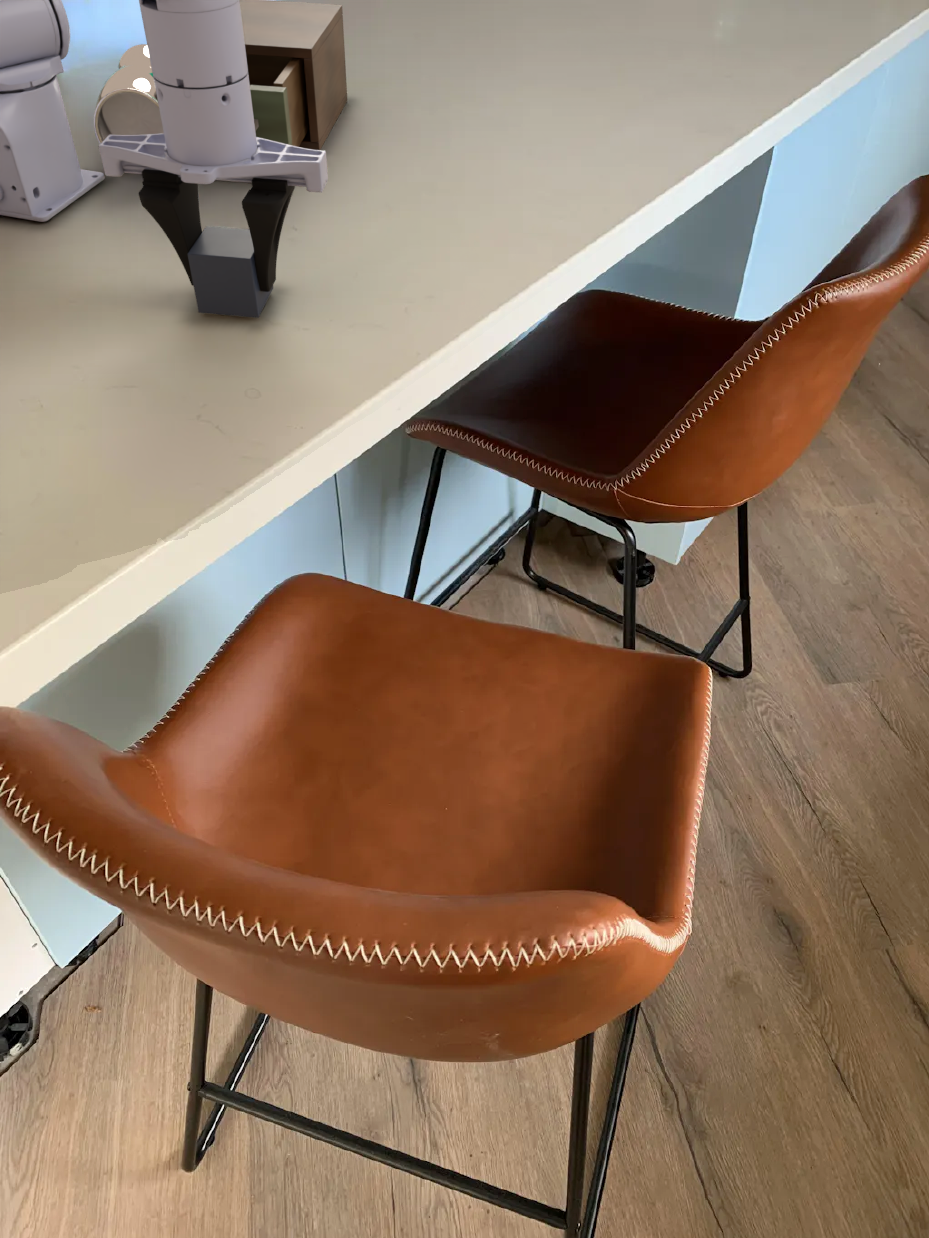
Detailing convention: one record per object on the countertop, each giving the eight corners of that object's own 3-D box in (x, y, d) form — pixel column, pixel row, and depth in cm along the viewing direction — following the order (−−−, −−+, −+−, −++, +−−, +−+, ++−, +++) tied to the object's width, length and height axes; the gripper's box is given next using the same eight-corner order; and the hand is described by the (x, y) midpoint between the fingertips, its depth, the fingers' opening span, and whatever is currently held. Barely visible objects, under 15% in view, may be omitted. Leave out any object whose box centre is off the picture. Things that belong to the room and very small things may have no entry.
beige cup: (180, 37, 90) (166, 84, 80) (194, 117, 95) (183, 171, 85) (104, 39, 90) (81, 87, 79) (122, 119, 94) (102, 174, 84)
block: (258, 318, 68) (250, 259, 64) (198, 313, 68) (186, 253, 65) (273, 288, 71) (266, 230, 67) (215, 283, 71) (205, 225, 68)
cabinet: (319, 151, 89) (311, 48, 83) (198, 142, 90) (181, 40, 84) (347, 101, 98) (342, 4, 92) (237, 93, 99) (224, -3, 93)
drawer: (280, 196, 80) (271, 110, 75) (159, 187, 81) (142, 100, 76) (322, 124, 91) (316, 44, 86) (216, 116, 92) (204, 37, 87)
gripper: (59, 87, 56) (114, 301, 66) (302, 104, 55) (321, 318, 65) (103, 49, 61) (148, 254, 71) (327, 65, 60) (341, 270, 70)
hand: (233, 282), depth 68 cm, fingers closed on block, 4 cm apart
